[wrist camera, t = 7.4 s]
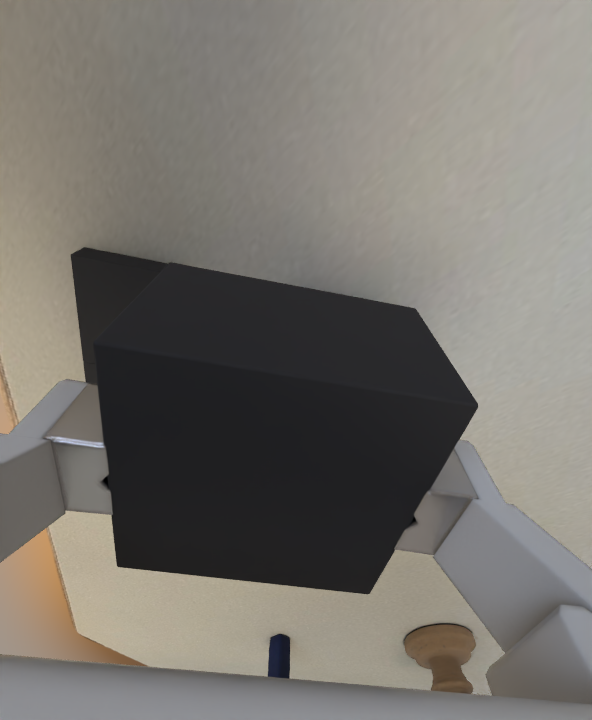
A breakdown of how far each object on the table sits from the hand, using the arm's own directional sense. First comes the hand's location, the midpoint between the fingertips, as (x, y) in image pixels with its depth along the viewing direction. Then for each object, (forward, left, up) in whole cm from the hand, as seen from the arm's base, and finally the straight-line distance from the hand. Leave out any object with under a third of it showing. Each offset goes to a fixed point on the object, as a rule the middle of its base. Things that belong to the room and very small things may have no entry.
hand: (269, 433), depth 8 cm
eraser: (+9, -49, -16) cm, 53 cm away
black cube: (0, 0, -2) cm, 2 cm away
